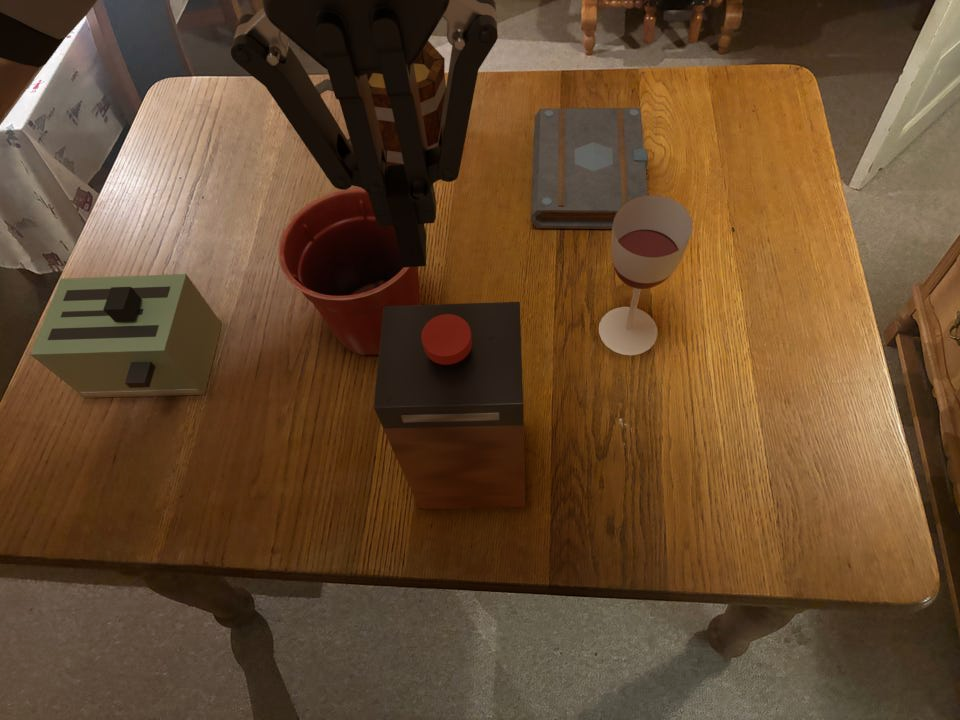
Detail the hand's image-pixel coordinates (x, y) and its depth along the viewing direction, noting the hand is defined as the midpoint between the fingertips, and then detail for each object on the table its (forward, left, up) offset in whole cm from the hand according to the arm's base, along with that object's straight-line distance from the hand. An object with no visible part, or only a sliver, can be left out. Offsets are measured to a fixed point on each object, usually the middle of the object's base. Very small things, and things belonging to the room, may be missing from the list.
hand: (415, 251), depth 45 cm
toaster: (-25, +35, -38) cm, 58 cm away
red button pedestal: (0, -1, -38) cm, 38 cm away
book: (+41, +26, -38) cm, 62 cm away
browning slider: (-23, +35, -27) cm, 50 cm away
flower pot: (+2, +24, -38) cm, 45 cm away
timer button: (0, -1, -11) cm, 11 cm away
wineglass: (+27, +2, -38) cm, 47 cm away
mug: (+21, +50, -38) cm, 66 cm away
